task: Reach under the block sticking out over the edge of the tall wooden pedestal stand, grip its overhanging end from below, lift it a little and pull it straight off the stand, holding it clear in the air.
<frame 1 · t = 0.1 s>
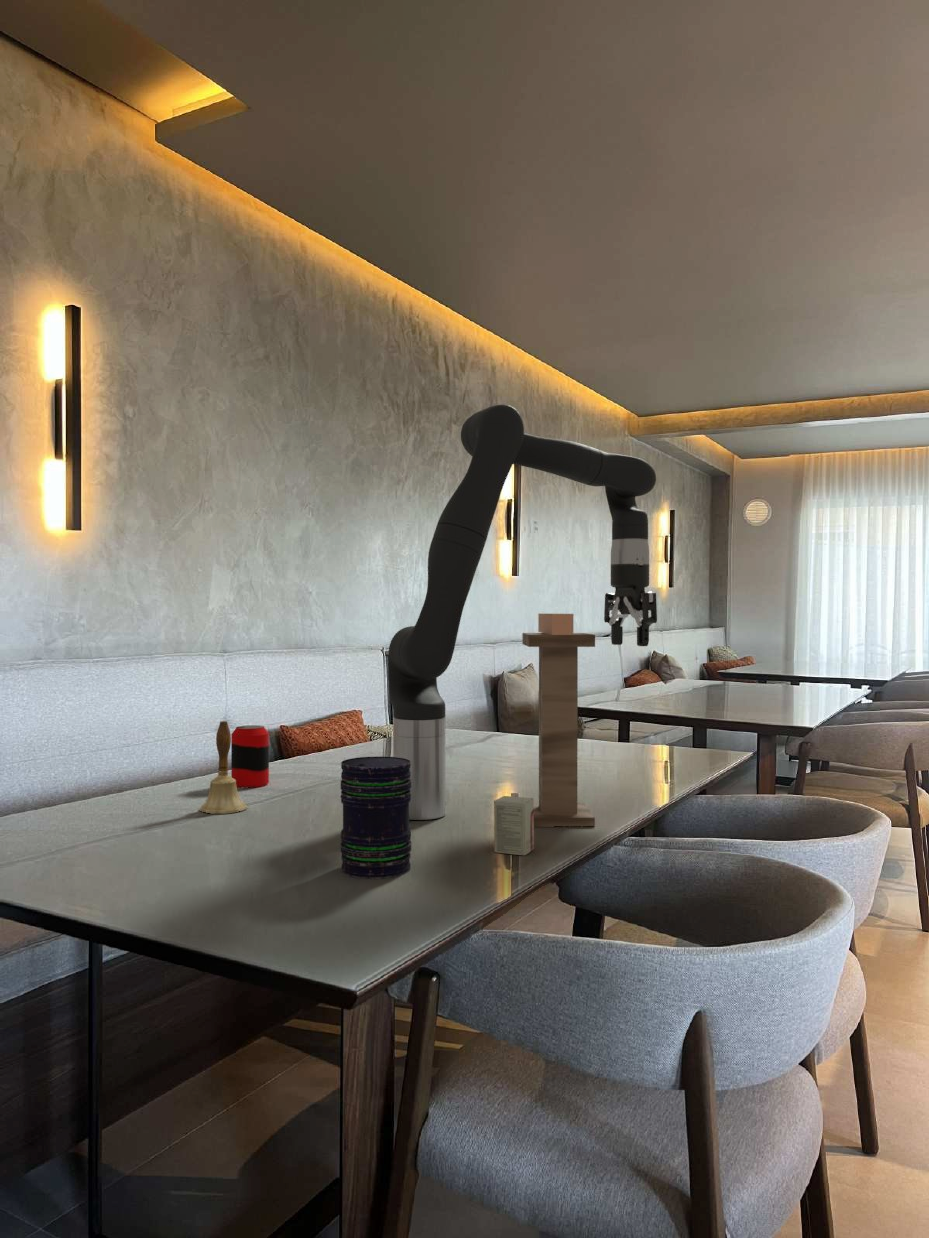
hand: (629, 645, 185), 29 cm above the table, tool pointing down, fingers open, 8 cm apart
wooden pedestal stand: (558, 819, 161), on the table
block: (554, 633, 167), point 32 cm above the table, touching wooden pedestal stand
storage jar: (376, 870, 131), on the table
soda can: (250, 785, 194), on the table
hand bell: (223, 810, 170), on the table
small box: (514, 852, 141), on the table
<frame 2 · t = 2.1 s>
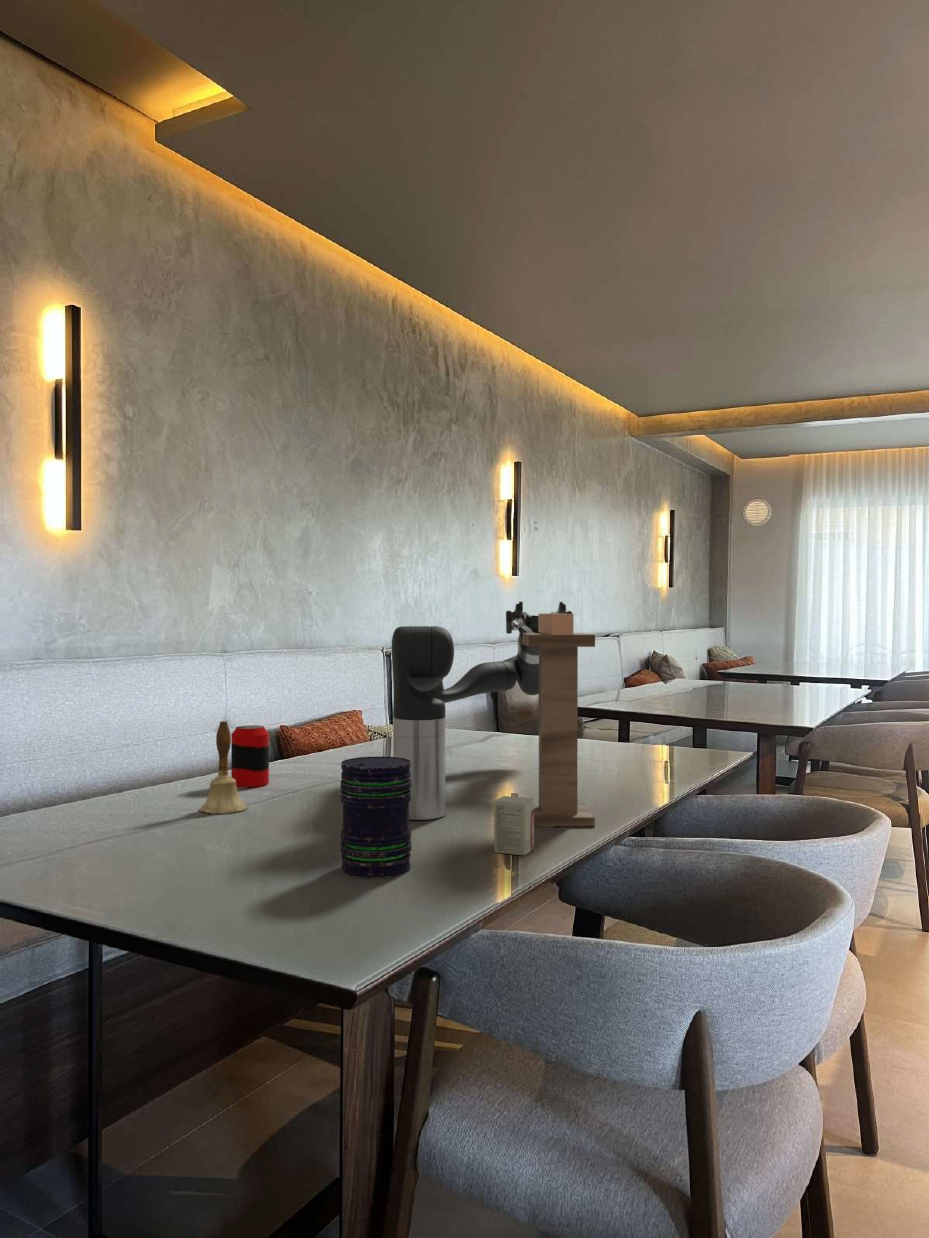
hand: (541, 605, 197), 37 cm above the table, tool pointing upward, fingers open, 8 cm apart
nothing on the table moved.
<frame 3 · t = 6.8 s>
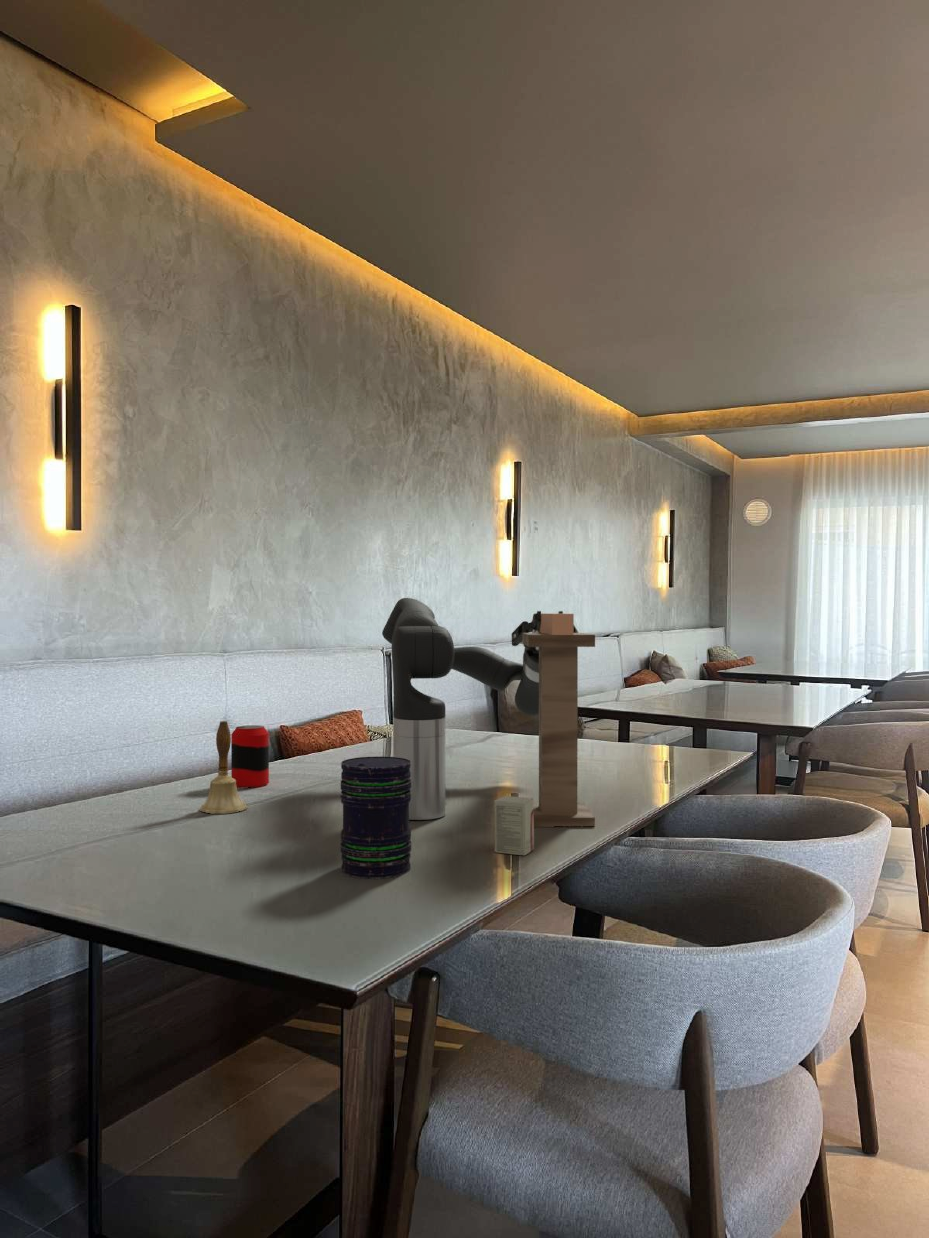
hand: (550, 615, 175), 35 cm above the table, tool pointing upward, fingers closed on block, 3 cm apart
block: (554, 633, 167), point 32 cm above the table, touching gripper, wooden pedestal stand
everything else where it was.
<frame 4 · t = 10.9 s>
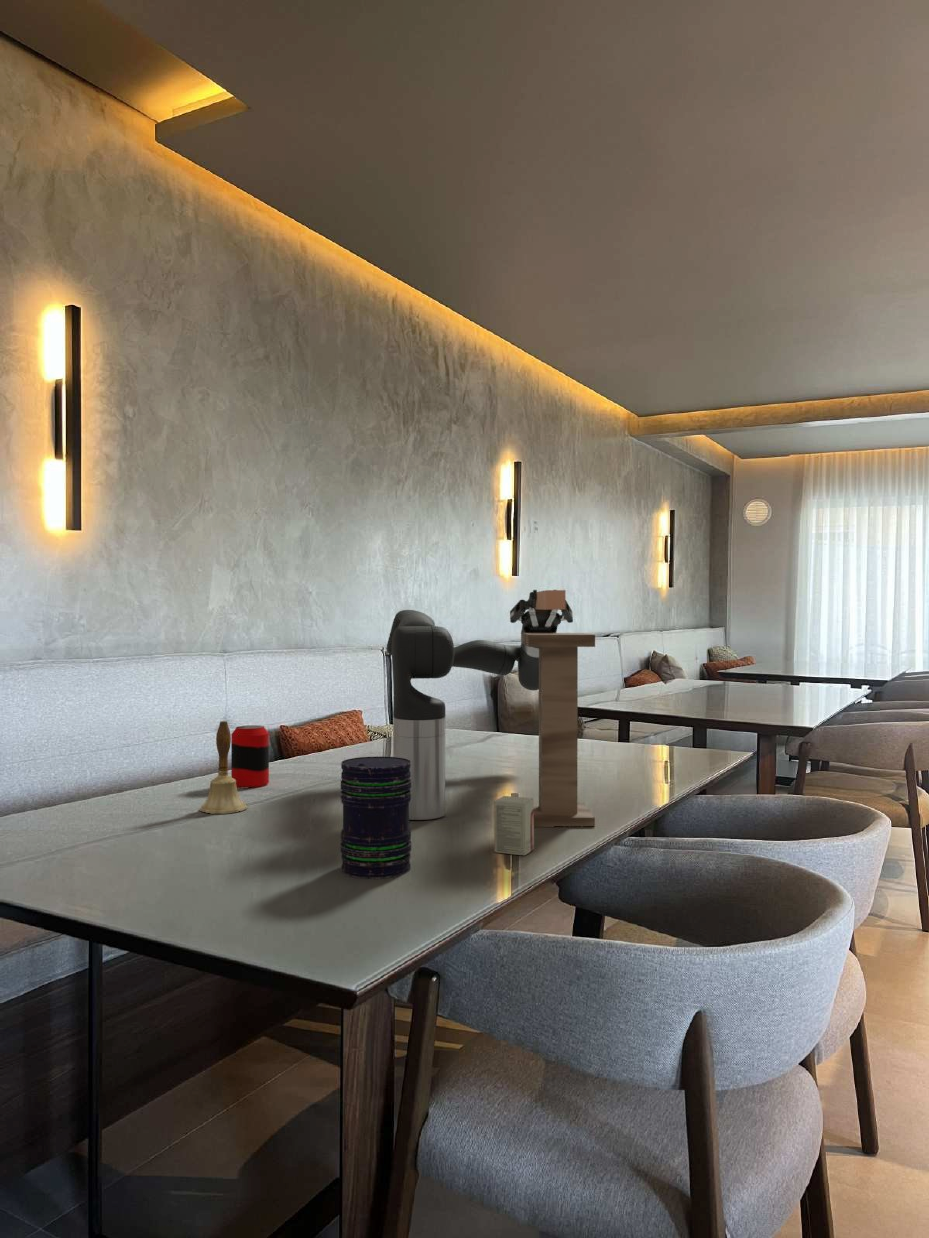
hand: (545, 593, 190), 39 cm above the table, tool pointing upward, fingers closed on block, 3 cm apart
block: (549, 609, 183), point 36 cm above the table, touching gripper
everything else where it was.
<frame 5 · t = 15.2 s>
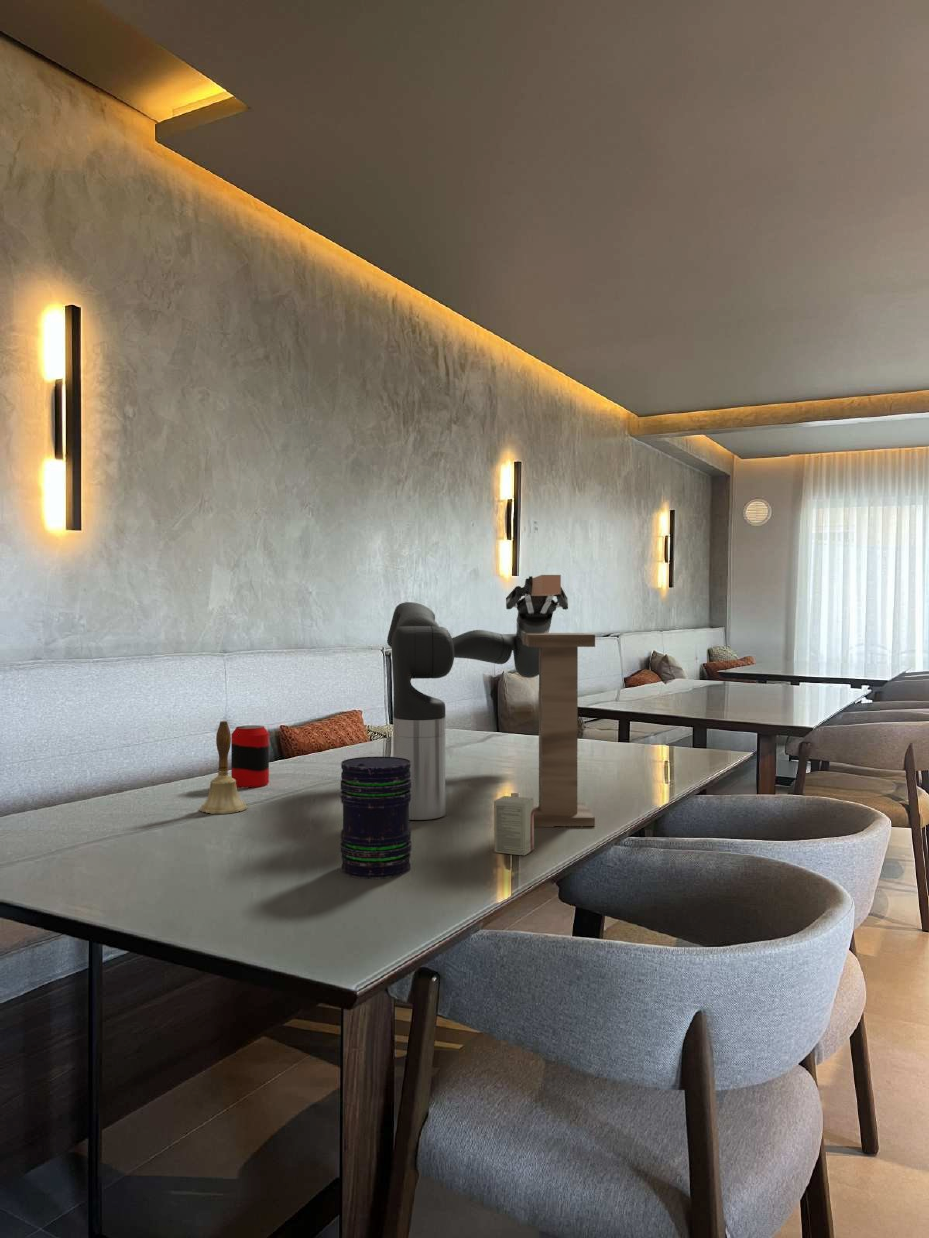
hand: (540, 580, 193), 42 cm above the table, tool pointing upward, fingers closed on block, 3 cm apart
block: (544, 594, 185), point 39 cm above the table, touching gripper
everything else where it was.
at the end: block touching gripper; block point 39.2 cm above the table; block moved 19.3 cm from its start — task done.
